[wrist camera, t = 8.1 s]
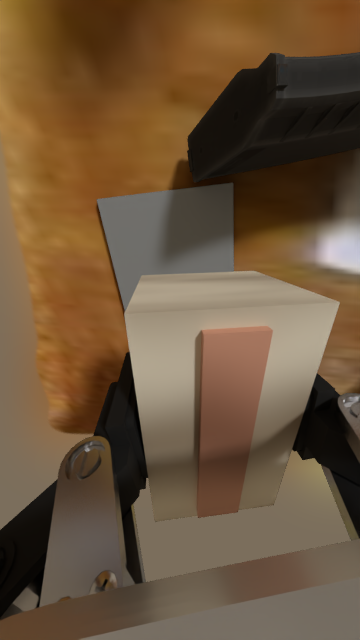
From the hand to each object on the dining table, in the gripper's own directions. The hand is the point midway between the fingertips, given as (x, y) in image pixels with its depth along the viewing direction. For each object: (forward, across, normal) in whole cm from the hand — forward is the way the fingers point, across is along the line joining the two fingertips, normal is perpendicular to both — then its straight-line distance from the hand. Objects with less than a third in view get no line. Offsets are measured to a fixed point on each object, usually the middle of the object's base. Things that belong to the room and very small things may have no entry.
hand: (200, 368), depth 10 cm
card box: (+1, 0, 0) cm, 1 cm away
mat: (+14, 0, 0) cm, 14 cm away
